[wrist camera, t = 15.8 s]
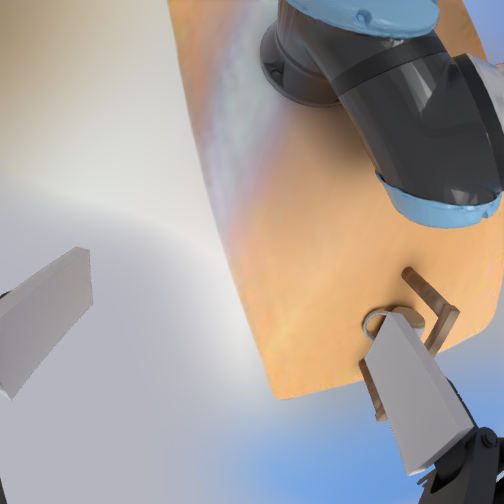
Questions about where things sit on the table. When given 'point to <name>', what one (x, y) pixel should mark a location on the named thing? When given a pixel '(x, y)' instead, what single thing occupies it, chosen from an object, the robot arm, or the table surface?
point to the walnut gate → (433, 341)
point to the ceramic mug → (409, 314)
